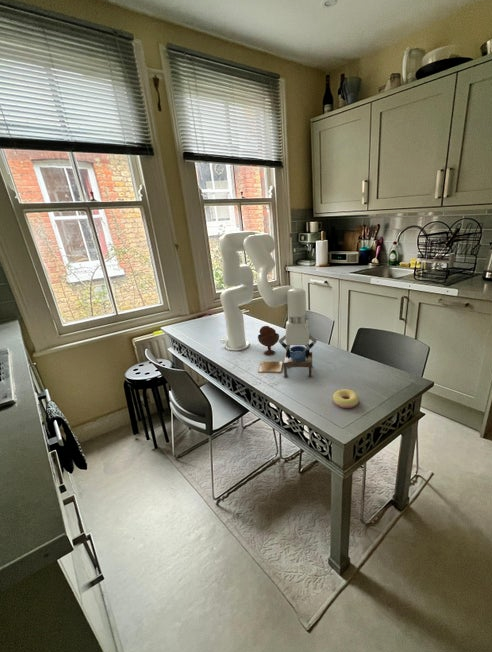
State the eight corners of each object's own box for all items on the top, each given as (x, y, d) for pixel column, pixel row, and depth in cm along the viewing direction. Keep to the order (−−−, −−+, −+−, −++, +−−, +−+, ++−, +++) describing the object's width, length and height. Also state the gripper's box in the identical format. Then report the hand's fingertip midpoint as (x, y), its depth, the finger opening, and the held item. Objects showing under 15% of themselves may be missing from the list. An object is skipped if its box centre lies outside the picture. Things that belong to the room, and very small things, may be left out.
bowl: (289, 363, 136) (288, 352, 134) (290, 356, 143) (290, 346, 141) (306, 363, 135) (306, 352, 133) (306, 356, 142) (306, 345, 140)
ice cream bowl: (278, 358, 156) (276, 329, 149) (256, 357, 158) (253, 328, 152) (282, 349, 165) (280, 322, 159) (261, 348, 167) (259, 321, 161)
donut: (357, 401, 121) (333, 395, 123) (360, 390, 120) (336, 385, 122) (356, 412, 112) (330, 406, 114) (359, 401, 111) (332, 394, 113)
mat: (258, 372, 143) (258, 371, 142) (262, 362, 152) (262, 361, 151) (280, 372, 142) (280, 371, 141) (282, 362, 151) (282, 361, 150)
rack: (284, 377, 137) (283, 362, 134) (286, 366, 147) (285, 352, 144) (311, 377, 136) (311, 362, 133) (312, 366, 146) (312, 352, 143)
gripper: (318, 315, 134) (318, 353, 141) (277, 316, 136) (279, 353, 143) (317, 321, 127) (318, 361, 134) (275, 322, 129) (277, 360, 136)
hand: (298, 357), depth 139 cm, fingers closed on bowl, 7 cm apart
